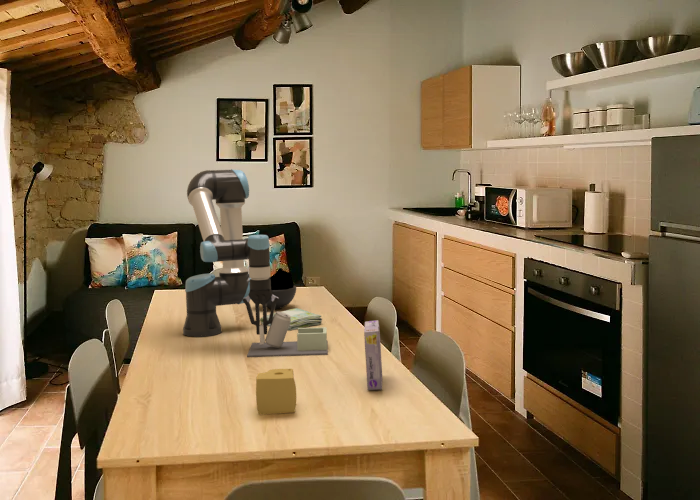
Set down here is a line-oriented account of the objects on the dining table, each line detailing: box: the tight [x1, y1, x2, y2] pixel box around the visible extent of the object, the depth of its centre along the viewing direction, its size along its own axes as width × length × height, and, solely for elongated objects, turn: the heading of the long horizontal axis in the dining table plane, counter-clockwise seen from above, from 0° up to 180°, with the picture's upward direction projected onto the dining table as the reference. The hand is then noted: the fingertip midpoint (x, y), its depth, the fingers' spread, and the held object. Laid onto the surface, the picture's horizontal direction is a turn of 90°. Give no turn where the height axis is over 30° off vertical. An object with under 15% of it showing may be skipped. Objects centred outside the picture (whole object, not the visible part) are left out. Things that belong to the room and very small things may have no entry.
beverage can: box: [265, 311, 291, 348], centre depth 287 cm, size 6×6×12 cm
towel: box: [260, 307, 323, 331], centre depth 333 cm, size 18×21×5 cm
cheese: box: [255, 368, 297, 416], centre depth 218 cm, size 10×11×10 cm
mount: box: [246, 326, 329, 358], centre depth 287 cm, size 20×28×7 cm
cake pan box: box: [363, 319, 383, 391], centre depth 241 cm, size 19×5×18 cm, turn 178°
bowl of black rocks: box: [260, 267, 297, 310], centre depth 369 cm, size 20×20×19 cm
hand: (262, 343), depth 287 cm, fingers closed
